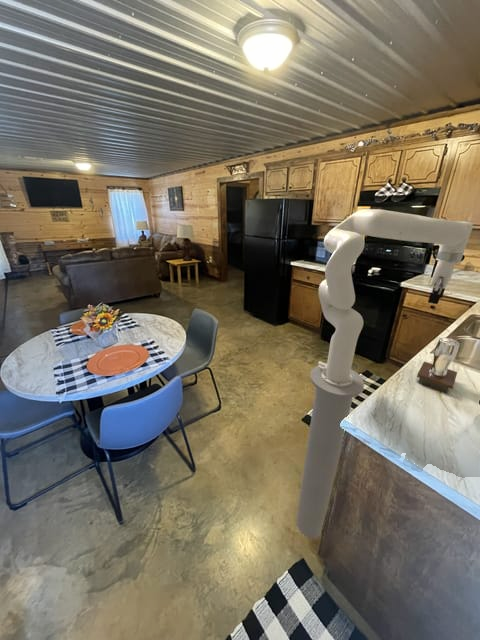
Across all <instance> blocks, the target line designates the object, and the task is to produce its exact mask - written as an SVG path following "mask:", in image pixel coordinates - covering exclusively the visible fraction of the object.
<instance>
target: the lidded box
mask: <svg viewBox="0 0 480 640" xmlns="http://www.w3.org/2000/svg"><path fill="white" fill-rule="evenodd" d="M432 364H433V363H430V362H427V361H423V363H422V365H421V366H420V369H419V370H418V373H417V375H416V377H417V378H418V381H417V383H418V384H421V385H424V386H426V387H428V388H431V389H434V390H437V391H440V392H442V393H444V394H448V392H449V389H450V390H453V388H454V385H455V382H456V379H457V374H458V372H457V371H456V370H453V369H449V368H448V370H447V376H446V377H438V376H435V375H433V374H431V373H430V372H429V369H430V367H431V366H432Z"/></svg>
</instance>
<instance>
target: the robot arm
mask: <svg viewBox="0 0 480 640" xmlns="http://www.w3.org/2000/svg"><path fill="white" fill-rule="evenodd" d="M473 227H474V226H473V222H471V221H464V220H463V221H462V220H451V219H443V218H442V219H441V218H435V217H429V216H424V215H419V214H412V213H407V212H400V211H393V210H386V209H377V208H364V209H359V210H357V211H356V212H353V214H351V215H349V216H348V217H347V218H345V219H344V220H343V221H342V222H340V223H339V224H337V225H336V226H334V227H333V228H331V229H330V230H329V231H328V232H327V233H326V235H325V236H324V239H323V247H324V249H325V250H326V251H327V252H328V253H330V254H331V256H330V257H329V259H328V261H327V262H326V265H325V269H324V274H325V279H323V280H321V282H320V284H319V285H318V286H319V287H318V294H317V295H318V299H319V302H320V307H321V310H322V313H323V316H324V319H325V320H326V321H327V322H328V323H330V324H331V325H332V326H333V327H334V328H335V331H334V333H333V334H332V335H331V338H330V343H329V347H328V348H329V349H328V356H327V362H323V361H321V360H319V361H318V362H317V366H318V365H319V366H318V368H319V369H322V370H323V371H322V374H321V376H322V379H323V380H324V381H325V382H326V383H328V384H330V385H332V386H336V387H347V386H350V385H351V384H352V382H353V378H352V376H351V375H350V372H351V370H352V366H353V363H354V357H355V352H356V347H357V343H358V339H359V336H360V334H361V331H362V330H363V327H364V319H363V316H362V315H361V314H360V313H359V312H358V311H357V310H355V309H354V308H352V307H353V306H354V304H355V302H356V293H355V287H354V282H353V277H352V276H353V275H352V267H353V265H354V263H355V262H356V260H357V259H358V258H359V256H360V255H361V254H362V252H363V251H364V249H365V244H366V243H365V238H364V237H363V235H364V236H369V237H374V238H380V239H389V240H397V241H405V242H413V243H427V244H436V245H439V248H438V251H437V254H436V257H435V260H436V261H438V262H437V264H436V266H435V268H434V271H433V275H432V278H431V281H430V283H429V286H430V287H432V289H431V292H430V294H429V297H428V300H427V303H428V304H432V305H433V304H434V305H439V302H440V299H442V298H443V296H444V293H445V291H446V287H447V286H448V284H449V282H450V280H451V279H452V275H453V273H454V270H455V267H456V265H457V263H459V264H460V263H461V262H462V259H463V256H464V253H465V250H466V249H467V248H466V247H467V245H468V242H469V239H470V236H471V233H472V231H473Z"/></svg>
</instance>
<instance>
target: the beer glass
mask: <svg viewBox="0 0 480 640" xmlns="http://www.w3.org/2000/svg"><path fill="white" fill-rule="evenodd" d="M459 348H460V342H459V341H457V340H455V339H453V338H448V337H439V339H438V341H437V344H436V345H435V347H434V353H433V359H432V360H433V361H432V363H431V364H432V366H431V367H430V369H429V372H430V373H431V374H433V375H435V376H438V377H446V376H447V370H448V369H449V368H450V366H451V364H452V363H453V361H454V360H455V358H456V356H457V354H458V351H459Z"/></svg>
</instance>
